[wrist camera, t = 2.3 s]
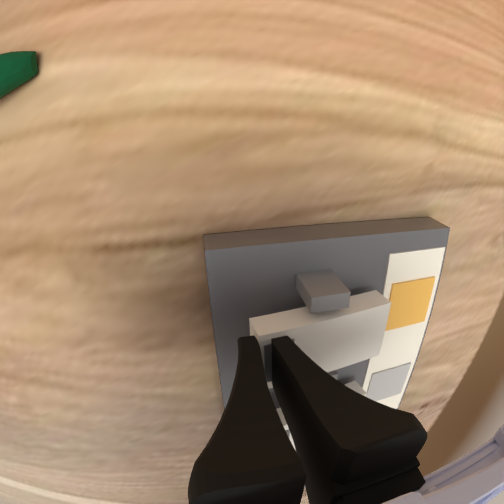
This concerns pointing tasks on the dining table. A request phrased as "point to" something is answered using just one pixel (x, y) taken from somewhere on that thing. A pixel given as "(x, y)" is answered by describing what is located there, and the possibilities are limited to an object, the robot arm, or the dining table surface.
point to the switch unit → (329, 288)
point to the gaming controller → (16, 70)
